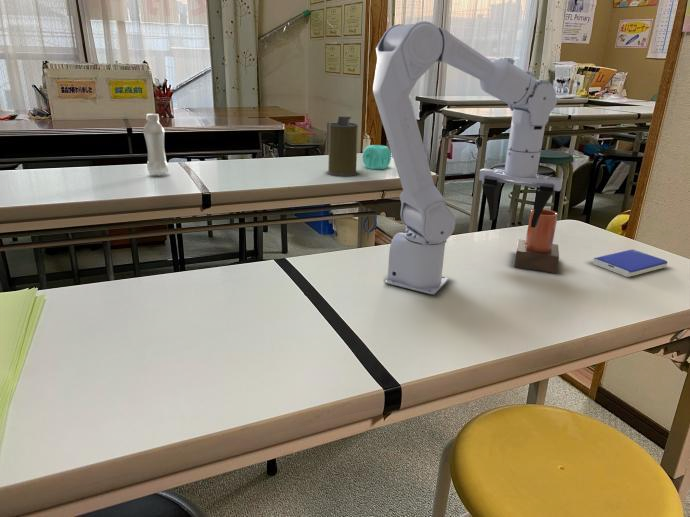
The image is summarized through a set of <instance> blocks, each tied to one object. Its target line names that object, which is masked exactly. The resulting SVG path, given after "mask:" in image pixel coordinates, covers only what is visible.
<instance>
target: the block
mask: <svg viewBox="0 0 690 517" xmlns="http://www.w3.org/2000/svg"><path fill="white" fill-rule="evenodd" d="M525 242H526V239H518V240H517V245H516V251H515V256H514V266H513V268H519V269H525V270H531V271H538V272H543V273H544V272H545V273H551V274H557V270H558V264H559V260H560V252H559V244H556V243H553V244H552V249H551V251H548V252H538V251H533V250H530V249H528V248H526V247H525Z"/></svg>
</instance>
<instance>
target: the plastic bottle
mask: <svg viewBox="0 0 690 517" xmlns="http://www.w3.org/2000/svg"><path fill="white" fill-rule="evenodd" d="M146 121H147V122H146V123H145V125H144V127H143V131H142V132H143V136H144V140H145V145H146V150H147V171H148V174H149V175H151V176H156V177H160V176H165V175H168V173H169V163H168V161H167V156H166V151H165V150H166V149H165V132H166V131H165V129H164V127H163V125H162V124H161V123H160V116H159V113H146Z"/></svg>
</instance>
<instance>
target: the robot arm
mask: <svg viewBox="0 0 690 517" xmlns="http://www.w3.org/2000/svg"><path fill="white" fill-rule="evenodd" d="M375 52H376V65H375V71H374V76H373V78H374V79H373V84H372V94H373V97H374V100H375V101H374V102H375V103H376V106H377V110H378V114H379V116H380V120H381V123H382V127H383V129H384V133H385V137H386V139H387V143H388V146H389V148H390V149H389V150H390V152H391V157H392V158H393V162H394V166H395V168H396V172H397V174H398V178H399V182H400V185H401V188H402V190H403V191H402V192H401V193H400V194H399V201H400V203H401V205H400V211H399V212H400V214H399V215H400V216H399V217H400V220H401V222H402V223H403V225H404V226H405V231H404V232H397V233H396V234H394V236H393V238H392V240H391V242H390V246H389V253H388V268H387V279H385V283H386V284H388V285H392V286H396V287H400V288H404V289H408V290H412V291H416V292H420V293H424V294H428V295H436V294H437V293H438V291H440V290H441V289H442V288H443V287H444V286H445V285H446V284H447V283H448V282H449V277H447V276H443V268H444V259H445V248H446V243H447V240H448V239H449V238H450V237H451V236H452V234H453V233H454V231H455V228H456V217H455V215H454V213H453V211H452V210H451V209H449V207H448V206H447V203H446V200H445V197H444V196H443V195H442V193H441V192H440V191H439V189H438V188H437V187H436V185H435V182H434V178H433V175H432V171H431V167H430V164H429V160H428V157H427V153H426V150H425V147H424V143H423V142H424V141H423V138H422V135H421V132H420V127H419V124H418V121H417V117H416V114H415V110H414V107H413V103H412V98H411V96H410V95H411V92H412V91H413V89H414V87H415V86H416V84H417V82H418V80H419V79H420V78H422V76H424V74H425V73H426V72H427V71H429V69H431V67H433V65H435V63H445V64H447V65H449V66H451V67H453V68H454V69H457V70H459V71H462V72H463V73H464V74H468V76H471V77H474V78H476V79H477V80H479V84H480V85H479V86H480V88H481V90H482V91H483V92H485V93H487V94H488V95H490V96H492V97H494V98H496V99H497V100H499V101H501V102H503V103H505V104H507V107H508V108H509V110H510V111H511V112H512V116H511V122H510V129H509V136H508V144H507V150H506V156H505V164H504V169H490V168H481V169H479V174H478V181H482V182H483V183H482V186H481V187H482V190H483V193H484V195H485V198H486V202H487V206H488V214H489V215H488V216H489V220H490V221H494V220H496V218H497V214H498V204H499V196H500V192H501V187H502V184H503V183H504V184H509V185H517V186H523V187H524V186H525V187H531V188H538V189H537V190H536V191H535V199H534V200H535V202H534V208H533V209H534V214H533V218H532V222H531V227H534V228H535V227H536V226H537V222H538V219H539V217H540V214H541V212H542V210H543V209H545V206H546V205H547V203H548V202H549V200H550V199H551V197H552V196H553V194H554V193H555V192H560V191H561V190H562V187H563V182H564V178H559V177H554V176H549V175H544V174H539V173H538V171H539V170H538V169H539V165H540V160H541V152H542V147H543V141H544V134H545V130H546V129H545V128H546V126H547V124H548V123H549V118H550V115H551V113H552V112H553V110H554V109H555V107H556V106H557V103H558V100H559V97H557V93H556V90H555V87H554V85H553V83H551V82H550V81H549V80H545V79H544V80H543V79H536V77H535V73H534V72H532V71H530V70H526V71H525V70H524V69H522V68H520V67H518V66H517V65H515V60H514V59H513V58H511V57H498V58H494V59H493V60H491V59H489V58H487V57H486V56H484V55H483V54H481V53H480V52H479V51H477V50H476V49H475V48H473V47H471V46H470V45H468V44H467V43H465V42H463V40H461V39H459V38H458V37H456V36H455V35H453V34H452V33H451V32H450V31H449V30H447V29H445V28H442V27H438V26H436V25H435V24H434V23H432V22H430V21H426V20H425V21H418V22H415V23H409V24H408V23H407V24H401V23H400V24H393V25H392V26H390V27H389V28H387V29H386V30H385V31H384V33H383V35H382V36H381V38H380V40H379V41H378V43H377V45H376V47H375Z"/></svg>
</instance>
